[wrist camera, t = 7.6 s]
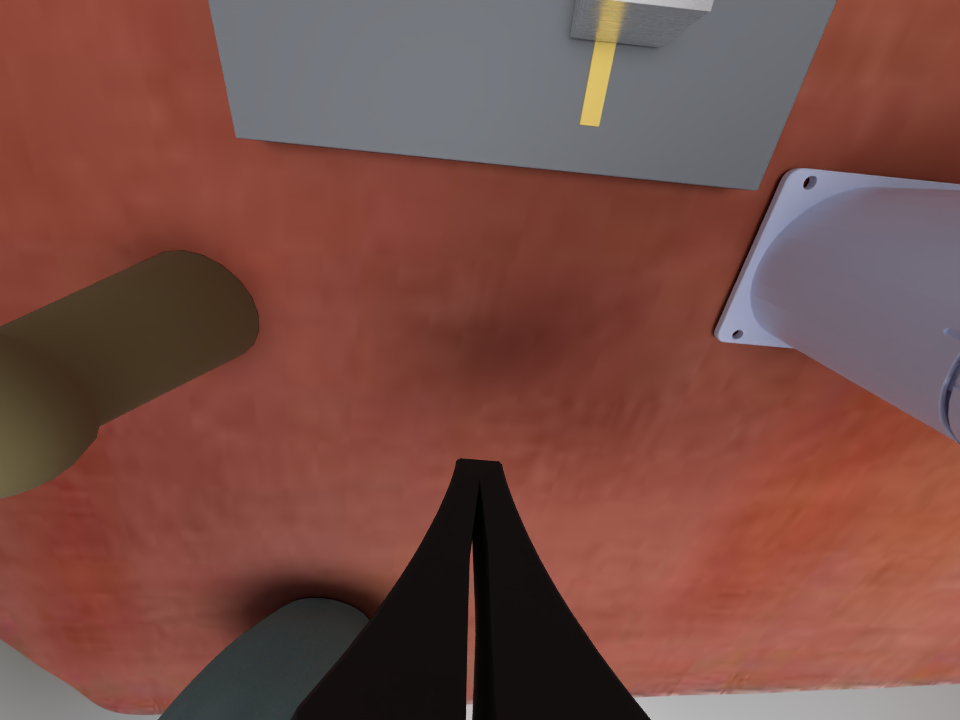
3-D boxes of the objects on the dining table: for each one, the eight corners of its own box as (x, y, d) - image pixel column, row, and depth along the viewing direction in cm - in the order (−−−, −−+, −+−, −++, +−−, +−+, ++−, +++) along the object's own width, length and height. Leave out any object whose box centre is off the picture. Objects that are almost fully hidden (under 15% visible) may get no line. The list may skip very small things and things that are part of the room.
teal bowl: (395, 679, 39) (360, 875, 28) (222, 646, 36) (109, 850, 25) (447, 592, 31) (426, 821, 20) (229, 541, 28) (67, 775, 17)
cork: (219, 237, 17) (-142, 327, 7) (279, 348, 20) (78, 521, 10) (111, 264, 18) (-348, 380, 8) (184, 367, 20) (-90, 546, 11)
